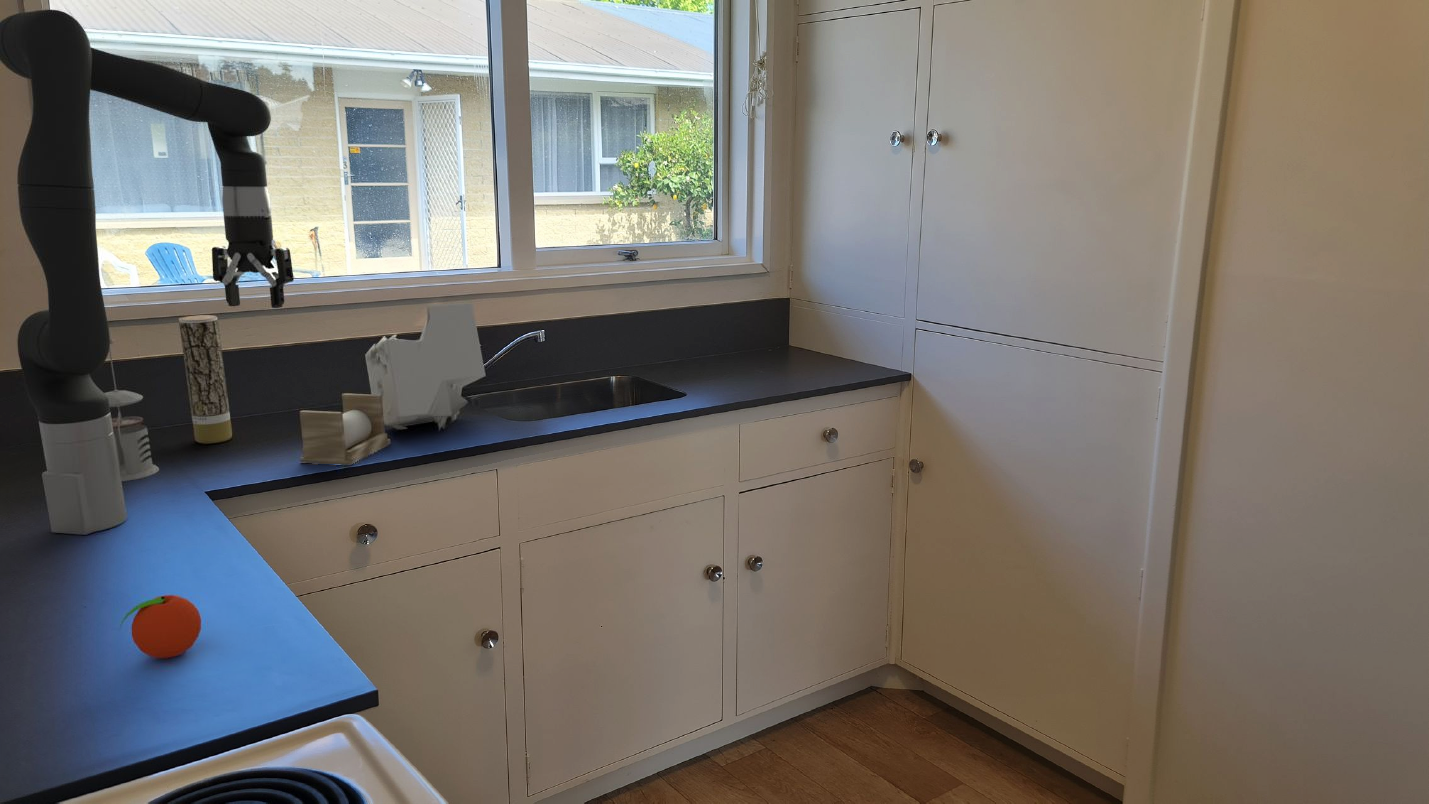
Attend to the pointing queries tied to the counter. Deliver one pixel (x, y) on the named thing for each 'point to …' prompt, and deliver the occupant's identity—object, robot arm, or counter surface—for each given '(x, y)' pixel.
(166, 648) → the clementine
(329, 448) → the holder
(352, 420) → the roll
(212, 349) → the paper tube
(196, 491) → the counter surface
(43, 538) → the counter surface
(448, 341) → the white jagged block
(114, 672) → the counter surface
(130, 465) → the french press
